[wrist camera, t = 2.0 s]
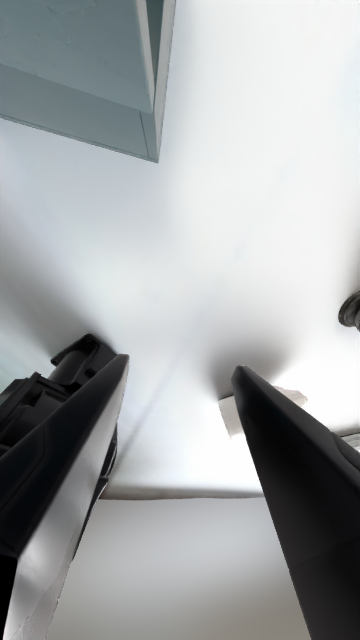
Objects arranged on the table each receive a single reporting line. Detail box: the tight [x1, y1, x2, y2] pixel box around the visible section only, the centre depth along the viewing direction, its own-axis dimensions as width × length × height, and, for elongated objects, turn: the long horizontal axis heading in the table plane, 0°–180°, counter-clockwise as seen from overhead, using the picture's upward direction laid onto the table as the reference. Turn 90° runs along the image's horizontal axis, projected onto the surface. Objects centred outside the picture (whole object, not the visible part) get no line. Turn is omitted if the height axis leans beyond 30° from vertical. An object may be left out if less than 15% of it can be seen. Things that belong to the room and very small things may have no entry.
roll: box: [218, 386, 307, 441], centre depth 25 cm, size 6×12×6 cm, turn 111°
